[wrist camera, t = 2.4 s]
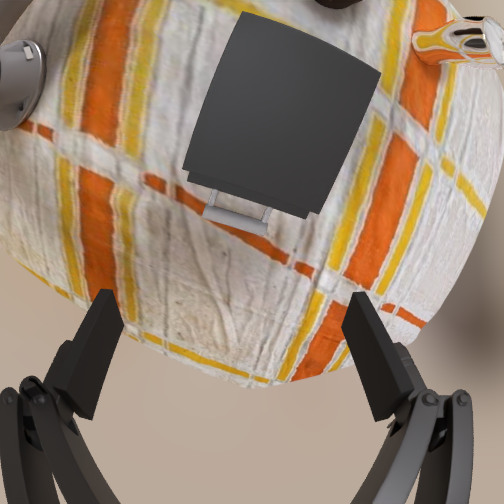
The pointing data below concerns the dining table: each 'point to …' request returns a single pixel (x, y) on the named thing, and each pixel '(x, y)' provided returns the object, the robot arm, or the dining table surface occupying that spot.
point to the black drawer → (240, 219)
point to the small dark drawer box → (280, 113)
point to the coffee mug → (337, 3)
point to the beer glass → (462, 43)
